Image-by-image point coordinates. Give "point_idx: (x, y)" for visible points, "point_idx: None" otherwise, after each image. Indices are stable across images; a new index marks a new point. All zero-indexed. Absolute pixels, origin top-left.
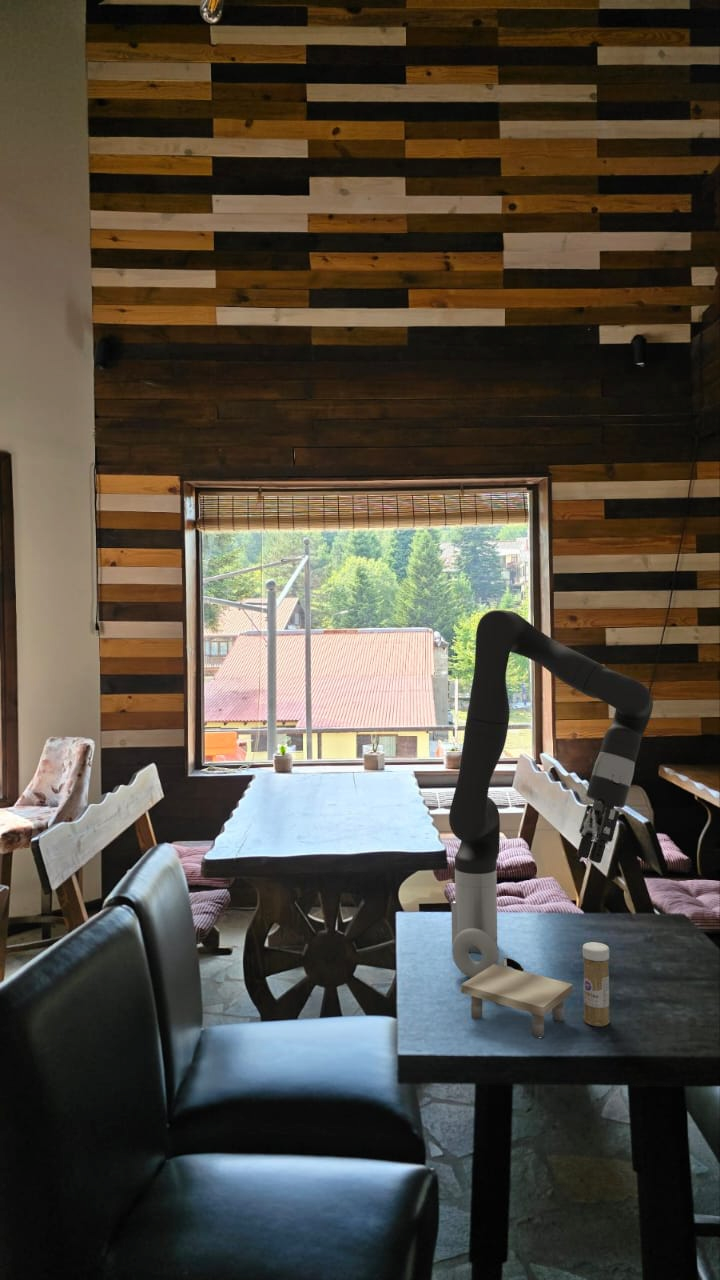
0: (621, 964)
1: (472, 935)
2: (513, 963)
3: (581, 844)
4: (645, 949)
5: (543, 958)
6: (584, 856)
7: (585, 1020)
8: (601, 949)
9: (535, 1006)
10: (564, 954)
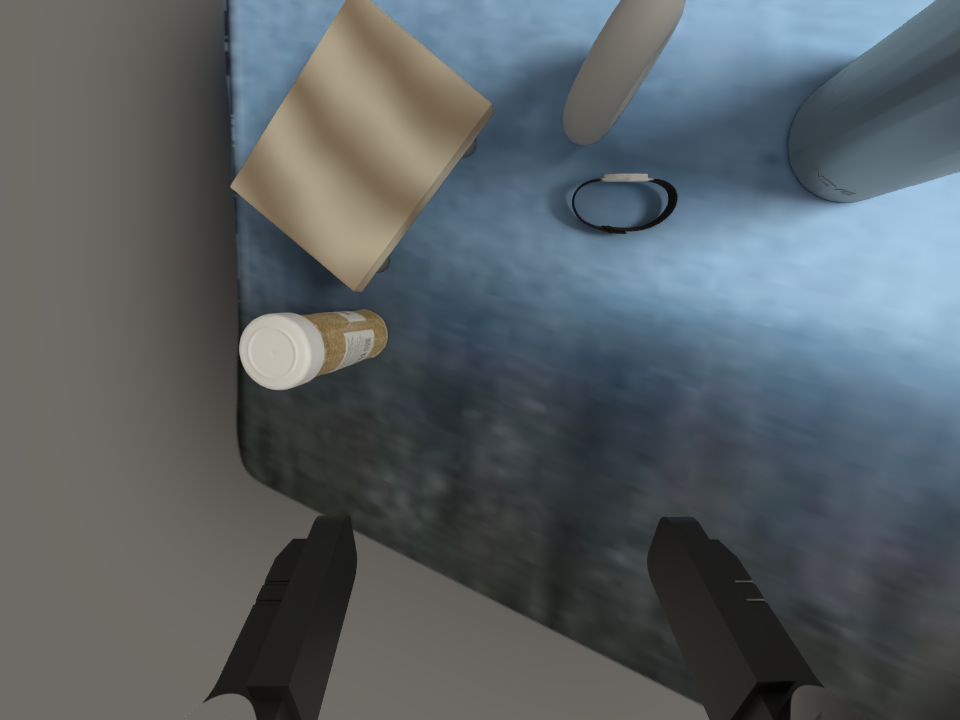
0: (654, 489)
1: (613, 14)
2: (663, 216)
3: (709, 605)
4: None
5: (721, 314)
6: (656, 554)
7: (355, 310)
8: (246, 360)
9: (241, 171)
10: (741, 376)
